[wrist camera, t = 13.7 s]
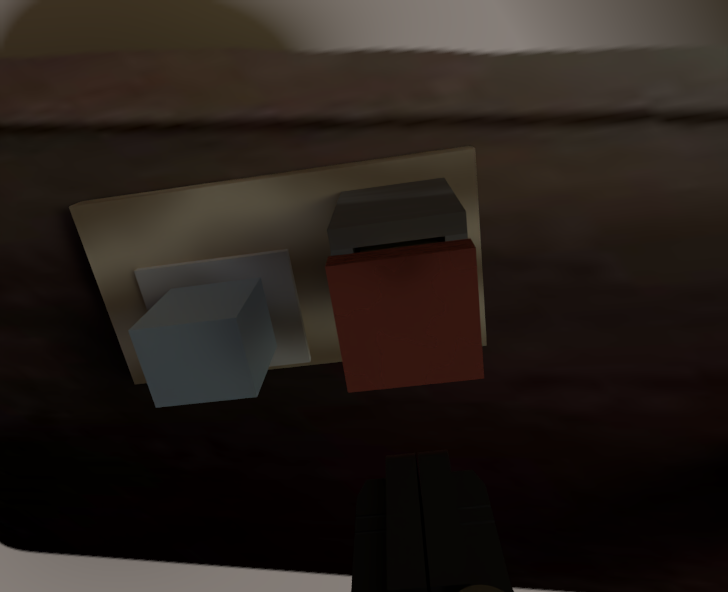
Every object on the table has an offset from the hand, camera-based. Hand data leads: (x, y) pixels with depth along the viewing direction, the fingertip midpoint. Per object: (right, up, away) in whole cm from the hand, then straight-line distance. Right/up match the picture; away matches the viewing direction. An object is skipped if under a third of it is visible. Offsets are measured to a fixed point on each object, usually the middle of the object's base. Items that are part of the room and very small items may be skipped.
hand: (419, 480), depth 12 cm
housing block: (-11, +3, +21) cm, 24 cm away
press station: (-6, +6, +22) cm, 24 cm away
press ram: (+1, +6, +14) cm, 15 cm away
